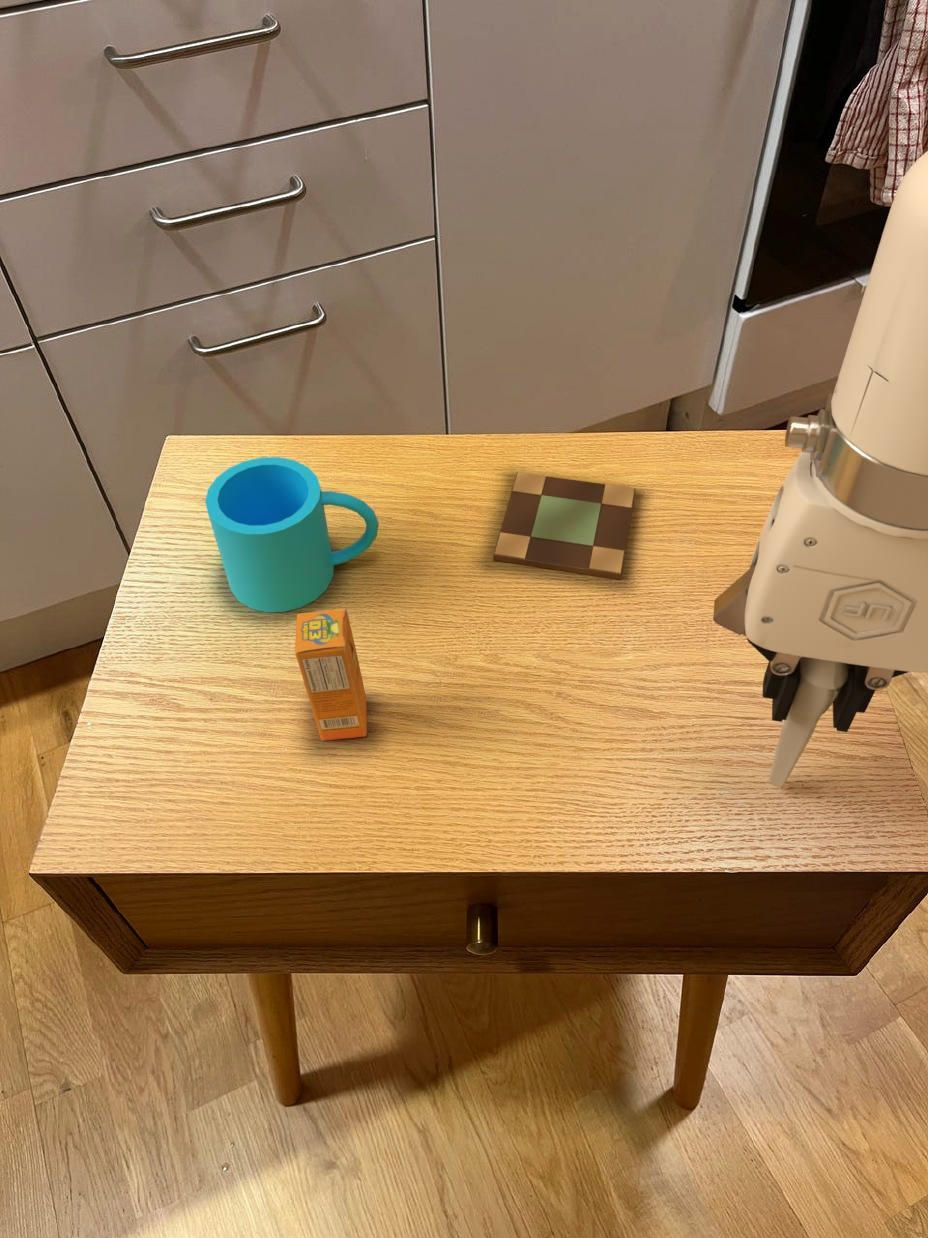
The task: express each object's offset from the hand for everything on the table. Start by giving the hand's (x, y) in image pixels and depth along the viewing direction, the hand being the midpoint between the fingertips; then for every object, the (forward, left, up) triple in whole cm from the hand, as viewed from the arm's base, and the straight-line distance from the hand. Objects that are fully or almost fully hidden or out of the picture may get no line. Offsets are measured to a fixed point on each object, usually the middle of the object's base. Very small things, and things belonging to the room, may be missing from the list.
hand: (809, 704), depth 55 cm
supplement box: (+29, +1, -9) cm, 30 cm away
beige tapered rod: (0, 0, -9) cm, 9 cm away
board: (+17, -21, -9) cm, 28 cm away
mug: (+36, -12, -9) cm, 39 cm away
